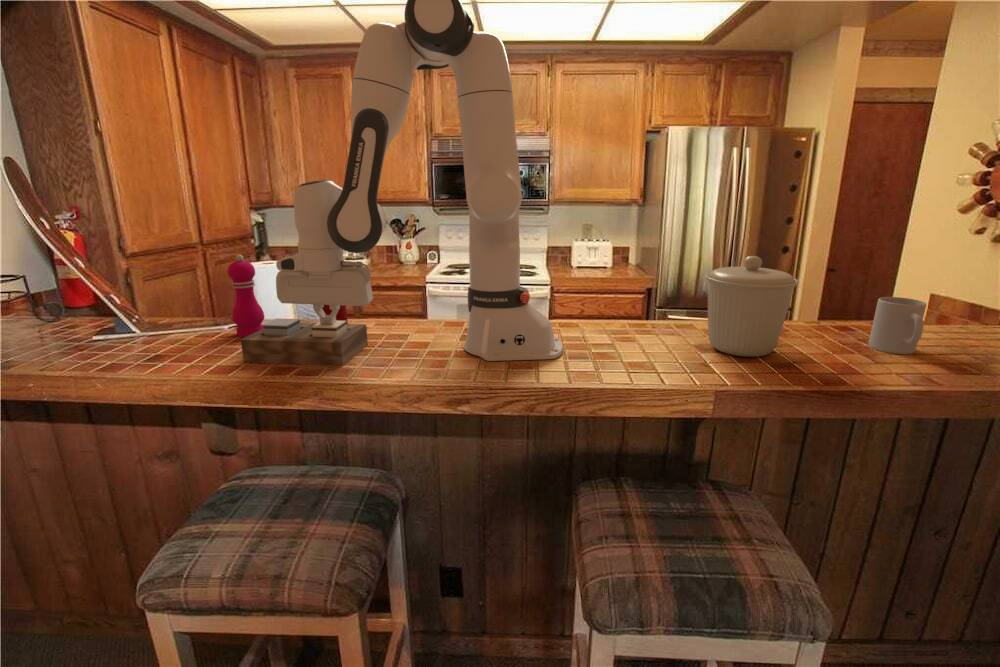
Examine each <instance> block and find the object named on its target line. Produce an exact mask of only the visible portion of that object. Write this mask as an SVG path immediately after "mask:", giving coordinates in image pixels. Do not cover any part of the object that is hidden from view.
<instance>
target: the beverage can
mask: <svg viewBox="0 0 1000 667" xmlns="http://www.w3.org/2000/svg"><path fill="white" fill-rule="evenodd" d="M322 309H323V311H324V313H325V314H326V315H330V314H331V312H332V310H330V306H329V305H324V307H322ZM336 321H346V322H347V324H349V323H348V312H347V305H340V309H339V311H338V313H337V315H336Z"/></svg>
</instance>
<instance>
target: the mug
mask: <svg viewBox="0 0 1000 667" xmlns="http://www.w3.org/2000/svg"><path fill="white" fill-rule="evenodd" d="M926 307H927V303H926V302H925V301H922V300H918V299H914V298H908V297H899V296H898V297H897V296H883V297H879V298H878V299H877V303H876V307H875V313H874V317H873V323H872V326H871V331H870V335H869V339H868V346H869V347H870V349H874V350H876V351H879V352H883V353H888V354H896V355H912V354H914V353H916V350H917V347H918V346H917V345H918V343H919V342H920V340H921V338H922V336H923V331H924V327H925V326H924V316H925V312H926V309H927V308H926Z"/></svg>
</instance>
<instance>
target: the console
mask: <svg viewBox="0 0 1000 667" xmlns="http://www.w3.org/2000/svg"><path fill="white" fill-rule="evenodd" d="M317 323H318V322H300V329H301V330H299V331H298V332H296V333H294V334H292V335H291V336H272V335H265V334H264V329H261V330H259V331H257V332H255V333H253V334H251V335H249V336H247V337H242V338H241V339H240V344H241V345H240V346H241V350H242V351H241V352H242V358H243V363H256V362H268V363H267V364H283V363H285V365H289V364H290V365H309V366H310V365H312V366H313V365H315V366H337V367H338V366H339V367H340V366H342V367H343V366H344V365H346V364H347V363H348V362H349V361H350V360H352V359H354V358H355V357H356V356H357V355H358V354H359V353H360V352H361V351H363V350H364V349H365V348H366V347H368V346H369V344H368V330H367V324H359V323H355V324H354V323H348V324H347V332H346V333H345V334H343V335H342V336H340V337H339V338H337V337H313V334H312V329H311V328H312V326H314V325H315V324H317ZM363 348H364V349H363ZM362 349H363V350H362Z"/></svg>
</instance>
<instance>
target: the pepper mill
mask: <svg viewBox="0 0 1000 667" xmlns="http://www.w3.org/2000/svg"><path fill="white" fill-rule="evenodd" d="M234 259H235V261H233V262H231V263H230V264H229V265H228V267H227V275H228V277H229V278H230V279H231V280H232V281H231V284H232V286H231V287H232V288H233V289H234V291H235V303H234V307H233V309H232V316H231V317H232V322H233V323H234V324H235V325H237V327H236V335H237V336H238V337H240V338H245V337H247V336H249V335H251V334H253V333H255V332H257V331H259V330H261V329H263V325H264V324H262V323H263V322H264V319H265V313H264V310H263V308H262V306H261V305H260V304H259V302H258V300H257V299H256V296H255V292H254V287H255V286H256V284H255V280H254V279H253V278H254V277H255V275H256V269H255V267H254V265H253V264H252V263H251V262H249V261H246V260H244V256H243V255H242V254H237V255H235V258H234Z"/></svg>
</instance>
